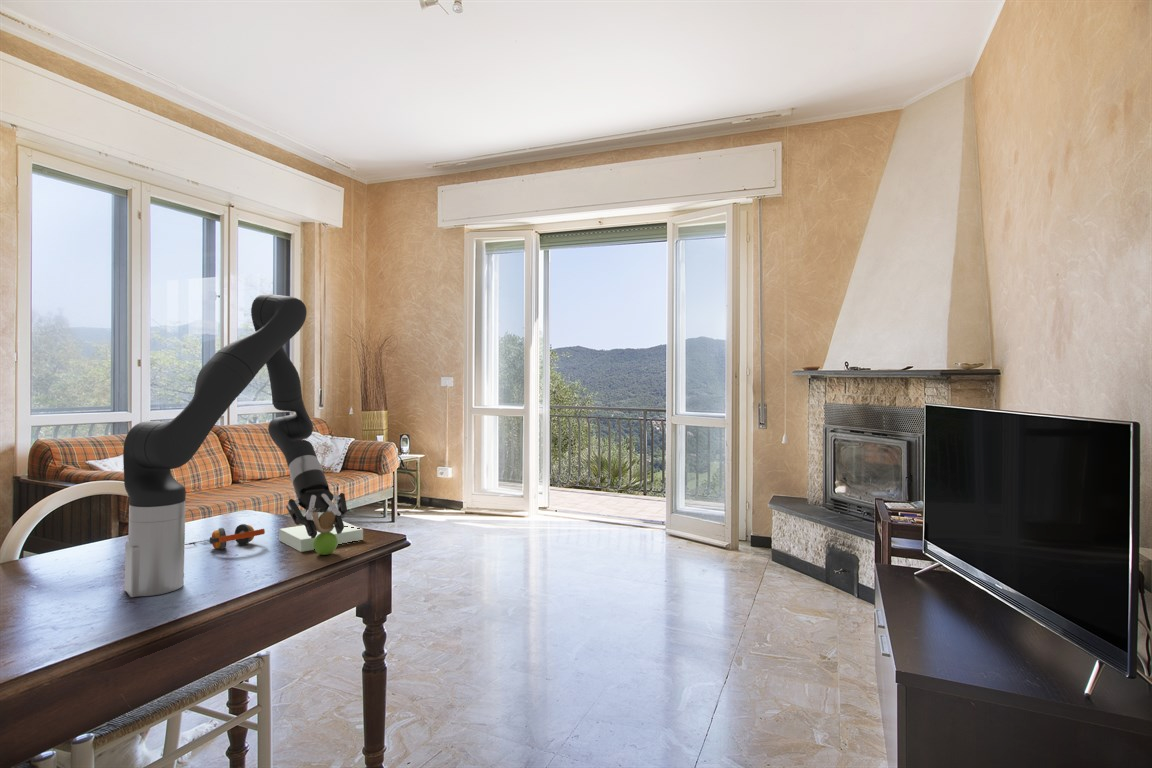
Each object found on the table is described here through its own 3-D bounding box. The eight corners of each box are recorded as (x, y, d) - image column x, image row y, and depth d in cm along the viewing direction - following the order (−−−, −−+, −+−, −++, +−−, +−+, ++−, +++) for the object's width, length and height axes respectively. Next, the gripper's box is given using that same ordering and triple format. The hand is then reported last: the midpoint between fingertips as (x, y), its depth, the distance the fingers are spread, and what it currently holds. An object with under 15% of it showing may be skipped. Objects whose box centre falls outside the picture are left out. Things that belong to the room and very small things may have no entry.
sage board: (300, 552, 147) (301, 539, 147) (279, 540, 156) (279, 528, 156) (362, 540, 158) (363, 529, 158) (339, 530, 168) (339, 519, 168)
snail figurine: (304, 556, 143) (305, 506, 143) (327, 549, 149) (327, 501, 149) (320, 560, 141) (320, 509, 141) (342, 553, 146) (343, 504, 146)
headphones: (245, 523, 164) (281, 517, 152) (247, 542, 163) (283, 538, 151) (177, 535, 150) (210, 530, 139) (179, 555, 150) (212, 552, 138)
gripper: (282, 471, 145) (301, 529, 137) (340, 465, 155) (361, 520, 147) (274, 489, 148) (292, 548, 140) (331, 483, 159) (351, 537, 151)
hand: (327, 533), depth 144 cm, fingers closed on snail figurine, 5 cm apart
